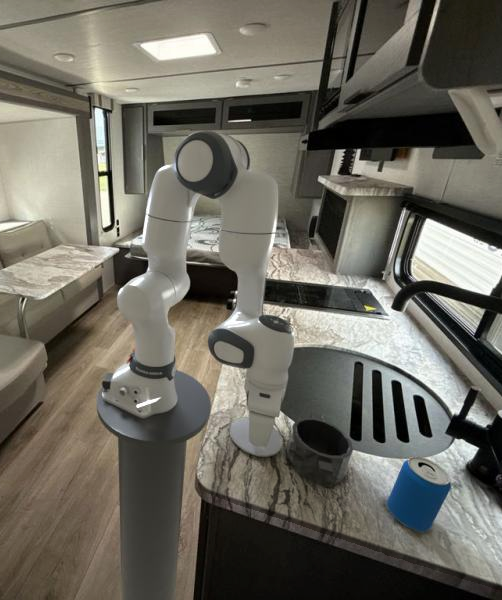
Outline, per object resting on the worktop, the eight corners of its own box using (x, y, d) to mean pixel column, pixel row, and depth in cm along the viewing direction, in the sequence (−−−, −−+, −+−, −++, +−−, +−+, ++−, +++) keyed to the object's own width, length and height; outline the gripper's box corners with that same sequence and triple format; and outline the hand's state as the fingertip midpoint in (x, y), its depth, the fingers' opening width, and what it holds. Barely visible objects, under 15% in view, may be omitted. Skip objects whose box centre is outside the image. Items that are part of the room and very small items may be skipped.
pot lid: (226, 448, 73) (228, 433, 71) (232, 415, 83) (234, 401, 82) (282, 465, 68) (285, 450, 67) (281, 428, 79) (284, 414, 77)
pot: (288, 484, 64) (294, 457, 62) (285, 428, 79) (291, 405, 76) (352, 505, 60) (362, 477, 58) (337, 442, 75) (344, 418, 72)
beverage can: (422, 507, 60) (444, 461, 56) (435, 540, 54) (461, 492, 50) (382, 494, 62) (400, 449, 58) (391, 524, 57) (412, 477, 53)
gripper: (253, 359, 80) (246, 402, 85) (246, 408, 63) (238, 459, 68) (279, 364, 78) (270, 408, 83) (280, 417, 60) (269, 469, 65)
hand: (256, 431), depth 75 cm, fingers open, 6 cm apart
